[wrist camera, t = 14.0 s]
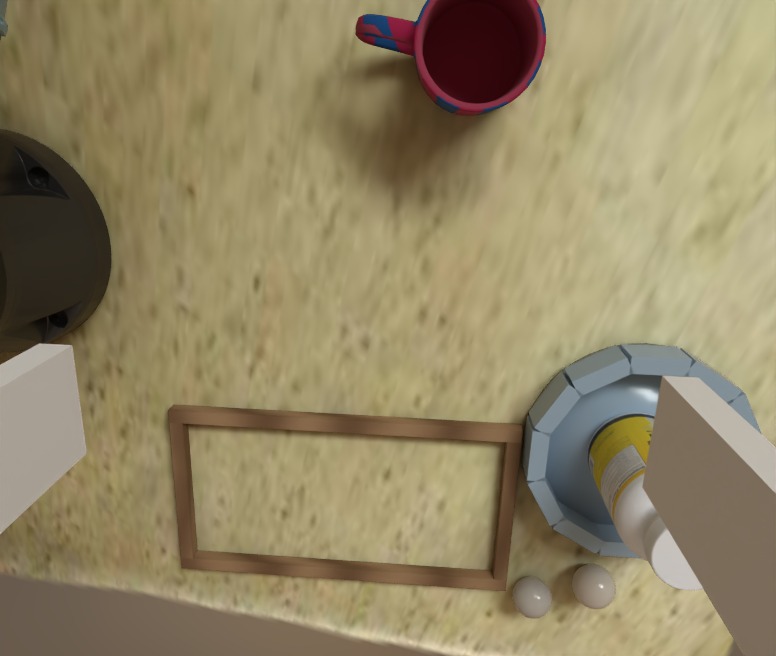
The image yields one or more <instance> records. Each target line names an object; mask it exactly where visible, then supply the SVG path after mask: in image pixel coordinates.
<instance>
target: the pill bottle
mask: <svg viewBox="0 0 776 656" xmlns="http://www.w3.org/2000/svg"><path fill="white" fill-rule="evenodd" d="M654 419H655V416H654V415H650V414H647V413H639V412H633V413H625V414H621V415H618V416H615V417H613V418H611V419H609V420H608V421H606V422H605V423H604V424H602V425H601V426H600V427H599V428H598V429H597V430H596V432H595V433H594V434H593V436H592V438H591V440H590V443H589V446H588V450H587V460H588V466H589V469H590V471H591V474H592V476H593V478H594V480H595V482H596V485H597V487H598V489H599V491H600V493H601V496H602V498H603V500H604V503H605V505H606V507H607V509H608V512H609V514H610V516H611V518H612V521H613V523H614V525H615V527H616V530H617V532H618V534H619V536H620V537H621V539H622V541H623V542H624V544H625V545H626V546H627V547H628V548H629V549H630V550H631V551H632V552H633V553H634V554H636V555H637V556H639V557H640V558H642V559H644V560H646V561H648V562H649V563H650V565H651V567H652V569H653V570H654V572H655V573H656V575H657V576H658V577H659V578H660V579H661V580H662V581H663V582H664V583H666V584H668V585H670V586H672V587H674V588H678V589H682V590H700V589H703V587H702V586H701V584H700V582H699V581H698V579H697V577H696V576H695V574H694V572H693V571H692V569H691V567H690V566H689V564H688V562H687V561H686V559H685V557H684V556H683V554H682V552H681V551H680V549H679V547H678V546H677V544H676V542H675V541H674V539H673V537H672V536H671V534H670V532H669V531H668V529H667V527H666V526H665V524H664V522H663V521H662V519H661V518H660V516H659V514H658V513H657V511H656V509H655V508H654V506H653V504H652V503H651V501H650V499H649V498H648V496H647V494H646V493H645V491H644V489H643V488H642V485H643V480H644V474H645V469H646V463H647V458H648V452H649V447H650V441H651V436H652V430H653V424H654Z"/></svg>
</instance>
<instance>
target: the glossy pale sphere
mask: <svg viewBox="0 0 776 656" xmlns="http://www.w3.org/2000/svg"><path fill="white" fill-rule="evenodd" d="M512 597H513V602H514V605H515V607H516V609H517V610H518V611H519V612H520V613H521V614H522V615H524V616H526V617H528V618H540V617H542V616H544V615H545V614H546V613H547V612H548V611H549V609H550V607H551V604H552V595H551V591H550V589H549V587H548V586H547V584H546V583H545V582H544V581H542V580H541V579H539V578H537V577H532V576H528V577H524V578H522V579H520V580H519V581H518V582H517V583H516V585H515V586H514V589H513V594H512Z"/></svg>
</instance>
